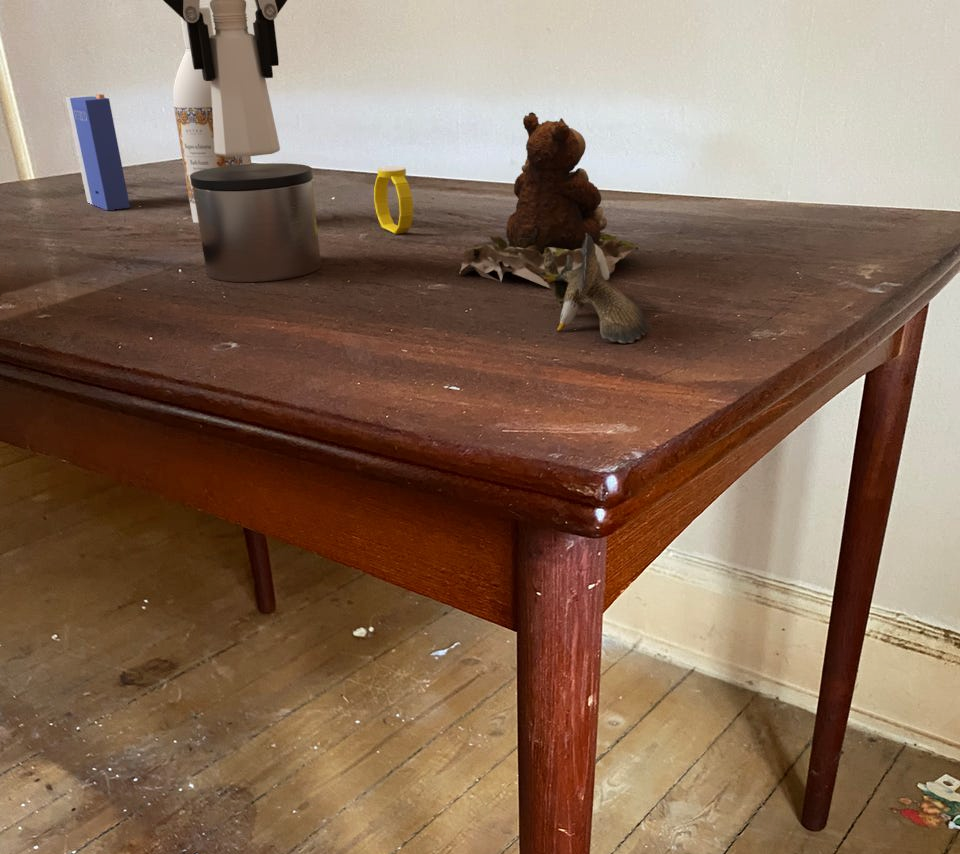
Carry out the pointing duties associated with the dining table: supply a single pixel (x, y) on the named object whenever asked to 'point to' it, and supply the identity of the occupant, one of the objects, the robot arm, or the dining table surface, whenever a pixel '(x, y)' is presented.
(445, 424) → the dining table surface
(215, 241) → the canister
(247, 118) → the pepper shaker
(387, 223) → the watch
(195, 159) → the bath foam
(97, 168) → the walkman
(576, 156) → the bear figurine
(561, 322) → the eagle figurine
